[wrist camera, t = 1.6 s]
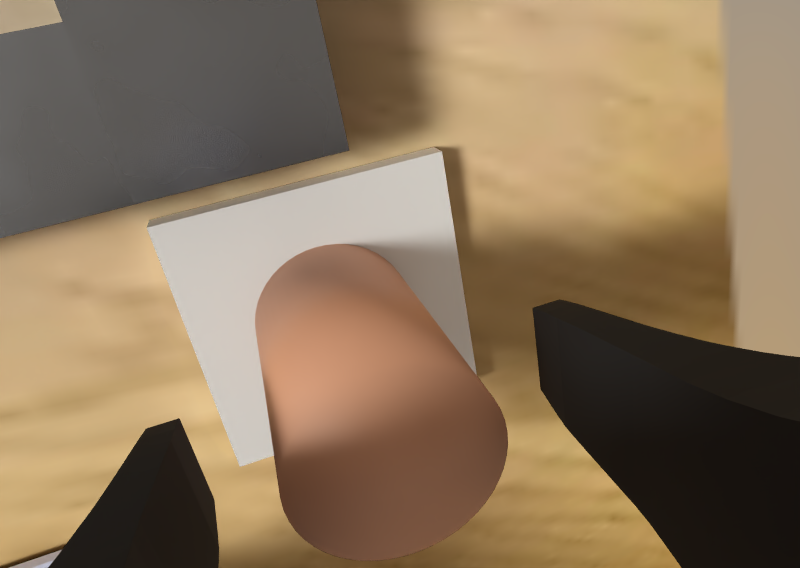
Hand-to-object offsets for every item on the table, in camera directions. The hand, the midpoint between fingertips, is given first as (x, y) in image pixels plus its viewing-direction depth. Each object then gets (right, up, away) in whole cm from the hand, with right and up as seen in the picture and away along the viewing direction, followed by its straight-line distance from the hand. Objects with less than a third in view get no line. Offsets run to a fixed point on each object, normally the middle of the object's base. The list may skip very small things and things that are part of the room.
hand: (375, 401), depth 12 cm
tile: (-1, +2, +4) cm, 5 cm away
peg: (-1, +1, +4) cm, 4 cm away
